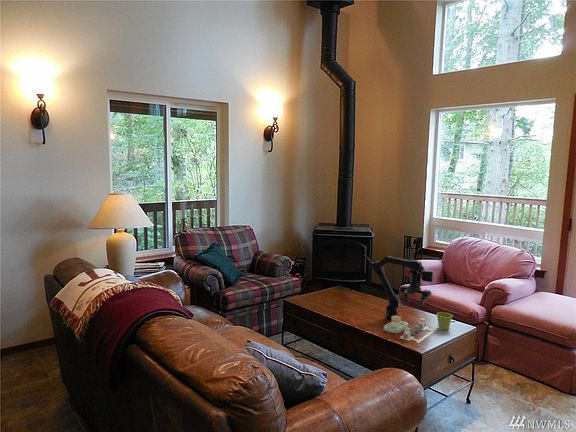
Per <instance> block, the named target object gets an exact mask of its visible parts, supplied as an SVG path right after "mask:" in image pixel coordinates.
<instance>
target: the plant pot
mask: <svg viewBox="0 0 576 432" xmlns="http://www.w3.org/2000/svg"><path fill="white" fill-rule="evenodd" d="M436 317H437V323H438V324H437V325H438V328H439V330H443V331H447V330H448V331H449V330H450V327H451V322H452V318H453V314H451V313H448V312H442V311H441V312H437V313H436Z"/></svg>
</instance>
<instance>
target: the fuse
mask: <svg viewBox="0 0 576 432" xmlns="http://www.w3.org/2000/svg"><path fill="white" fill-rule="evenodd" d="M391 318H392V320H391V322H392V323H391V322H390V323H391V328H394V329H398V328H399V327H401V321H402V316H400V315H398V316H396V315H394V316H392V317H391Z"/></svg>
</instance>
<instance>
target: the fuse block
mask: <svg viewBox="0 0 576 432" xmlns="http://www.w3.org/2000/svg"><path fill="white" fill-rule="evenodd" d="M421 331H422V332H423V331H424V332H425V331H429V332H428V333H426V334H425V335H424V336H422V337H421V338H419V339H418V338H417V339H416V338H415V337H414V336H416V332H417V333H420V332H421ZM436 332H437V328H434V329H431V328H429V326H426V319H425V318H422V317H419V323H418V325H414V329H413V328H411V327H409V326H408V327H405V328H404V333H402V335H400V337H399V339H401V340H405V341H408V342H410V341H414V342H415V343H416V344H417V345H419V344H420V343H422V342H423V341H425V339H428V338H429V337H430V336H431V335H433V334H435V333H436Z"/></svg>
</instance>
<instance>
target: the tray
mask: <svg viewBox="0 0 576 432" xmlns="http://www.w3.org/2000/svg"><path fill="white" fill-rule="evenodd" d="M391 323H392V321H391V322H389V323H387V324H385V325H384V326H383V327H382V330H383V331H385V332H387V333H390V334H391V333H392V334H394V335H398V334H399V333H401V332H402V331H405V329H404V328H405V327H408V328H409V327H410V326H409V324H410V323H409V322H407V321H403V320H401V327H399V328H398V329H394V328H391Z"/></svg>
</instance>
